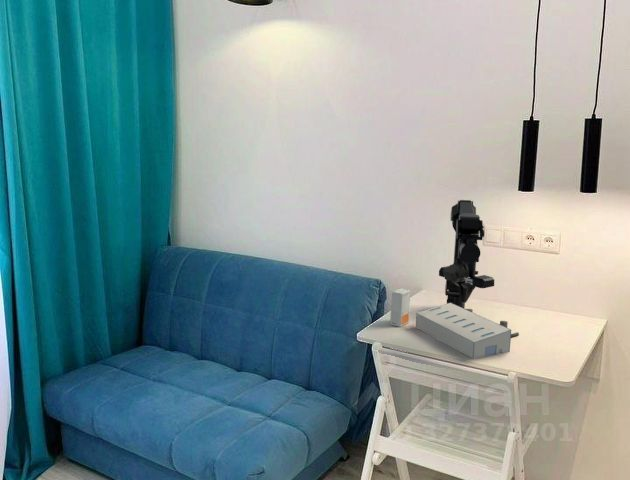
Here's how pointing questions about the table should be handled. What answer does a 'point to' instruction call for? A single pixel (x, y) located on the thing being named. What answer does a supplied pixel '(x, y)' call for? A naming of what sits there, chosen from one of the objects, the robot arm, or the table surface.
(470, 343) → the grey slotted box
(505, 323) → the cord posts
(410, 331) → the table surface
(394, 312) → the skincare box
